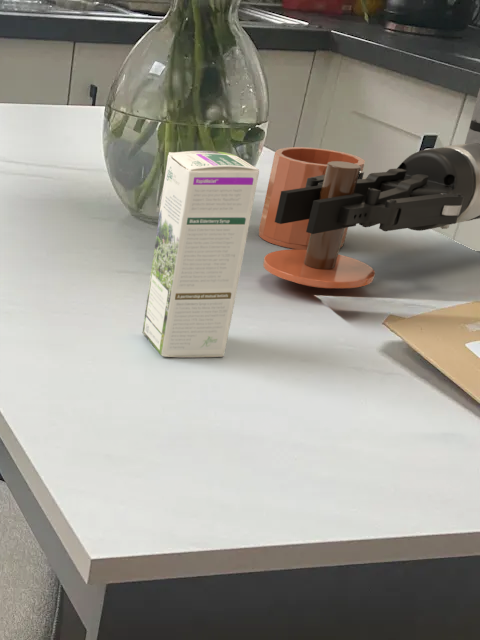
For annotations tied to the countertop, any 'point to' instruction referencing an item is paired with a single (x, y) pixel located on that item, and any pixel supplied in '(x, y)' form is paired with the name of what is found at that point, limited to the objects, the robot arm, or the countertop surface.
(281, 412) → the countertop surface
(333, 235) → the lid
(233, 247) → the syrup box
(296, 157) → the jar
